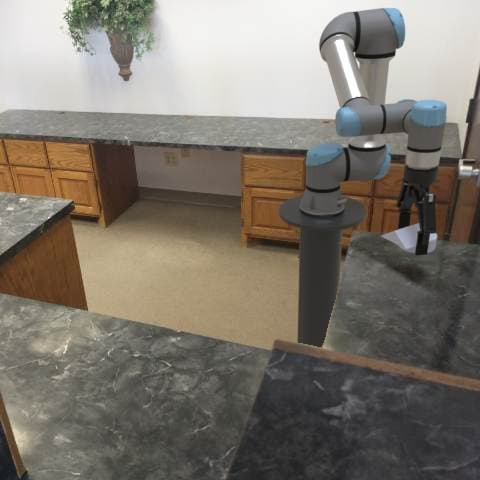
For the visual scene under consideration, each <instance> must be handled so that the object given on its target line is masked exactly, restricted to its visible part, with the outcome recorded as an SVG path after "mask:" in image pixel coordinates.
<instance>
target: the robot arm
mask: <svg viewBox="0 0 480 480" xmlns="http://www.w3.org/2000/svg"><path fill="white" fill-rule="evenodd" d="M405 40H406V23H405V19H404V15H403V13H402V12H401V11H400V9H398V8H396V7H379V8H372V9H364V10H356V11H346V12H343V13H341V14H338V15H337V16H335V17H333V18H332V19H331V20H330V21H329V22H328V23H327V24H326V26H325V28H324V29H323V31H322V33H321V35H320V38H319V41H318V43H319V44H318V50H319V53H320V57H321V59H322V60H323V62H325V63H326V64H327V68H328V71H329V75H330V78H331V81H332V86H333V89H334V91H335V95H336V98H337V101H338V106H339V108H338V109H337V111H336V113H335V118H334V119H335V120H334V123H335V124H334V125H335V131H336V134H337V135H338V136H339V137H343V138H344V137H345V138H346V137H349V138H350V139H349V140H348V143H347V145H348V146H345V147H344V146H343V145H342V143H339V142H324V143H319V144H316V145H314V146H312V147H310V148H309V149H308V150H307V152H306V157H305V190H304V192H303V197H302V200H301V203H300V211H301V212H302V213H303V214H305V215H307V216H310V217H315V218H330V217H335V216H338V215H340V214H342V213H343V212H344V208H345V204H344V202H346V201H347V198H346V199H343V198H342V196H343V195H342V191H341V183H342V182H343V183H344V182H357V181H358V182H361V181H373V180H379V179H382V178H384V176H386V175H387V173H388V172H389V169H390V166H391V160H392V156H391V154H392V150H391V147H390V146H389V145H388V144H387V143H386V142H387V141H386V139H385V138H384V137H383V136H382V135H387V134H398V133H399V134H400V133H405V134H406V135H407V145H406V151H405V159H404V163H405V165H404V170H403V177H402V184H401V187H400V191H399V195H398V196H397V197H398V198H397V200H396V204H395V207H396V208H398V213H399V216H398V224H397V230H399V229H402V228H405V227H408V226H411V217H412V216H411V215H412V213H411V212H412V211H413V210H412V208H413V206H414V207H415V208H416V211H417V218H418V223H419V226H420V231H418V232H417V233H418V235H417V243H416V250H415V253H414V255H415V256H426V255H428V253H427V252H428V245H429V238H430V234H434V233H436V234H437V214H436V213H437V211H436V202H437V193H436V192H435V193H431V185H432V184H434V183H436V182H437V181H438V176H439V165H440V159H441V155H442V154H443V151H442V146H443V141H444V140H443V139H444V133H445V127H446V122H447V117H448V116H447V110H448V109H447V108H448V107H447V103H446V102H444V101H442V100H437V99H421V100H415V99H410V98H403V99H400V100H398V101H397V102H394V103H387V104H386V96H387V87H388V76H389V69H390V62H391V61H392V60H393V59H394V58H395V57H396V53H397V50H399V49H401V48H402V47H403V46H404V43H405ZM358 63H359V64H358Z"/></svg>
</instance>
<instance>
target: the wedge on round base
mask: <svg viewBox="0 0 480 480" xmlns="http://www.w3.org/2000/svg"><path fill="white" fill-rule="evenodd" d="M418 231H420V226H419V222H418V223H415V224H410V225H409V226H408V227H405V228H402V229H399V230H398V229H396V230H394V231H393V230H392V231H389V232H387V233H384V234H382V235H380V237H381V238H384V239H385V240H387V241H389V242H391V243H393V244H395V245H397V246H398V247H399V248H400V249H402V250H403V251H405V252H408V253H412V254H415V250H416V243H417V235H418V233H417V232H418ZM437 240H438V234H437V232H436V233H434V234H430V238H429V245H428V252H427V254H429V253H432V252H434V251H435V250H436V247H437Z"/></svg>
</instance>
